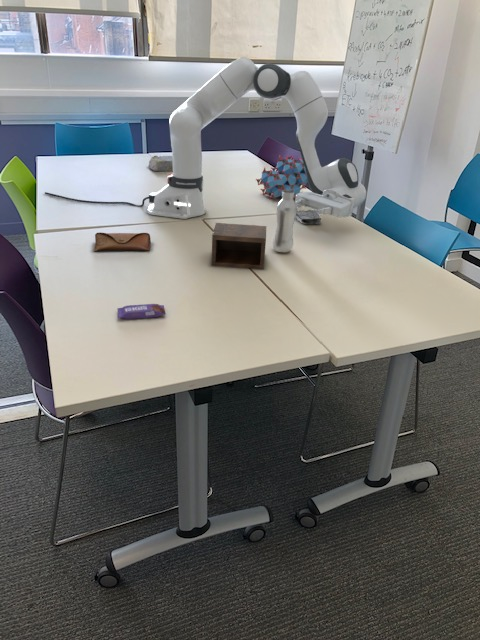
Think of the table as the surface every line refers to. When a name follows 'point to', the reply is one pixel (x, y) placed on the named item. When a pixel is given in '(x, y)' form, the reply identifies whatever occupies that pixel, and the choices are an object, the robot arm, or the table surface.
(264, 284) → the table surface
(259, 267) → the dark wooden box
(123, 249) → the sunglasses case
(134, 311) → the snack package
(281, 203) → the plastic bottle
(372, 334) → the table surface
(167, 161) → the geological specimen
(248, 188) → the table surface
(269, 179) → the molecule model
